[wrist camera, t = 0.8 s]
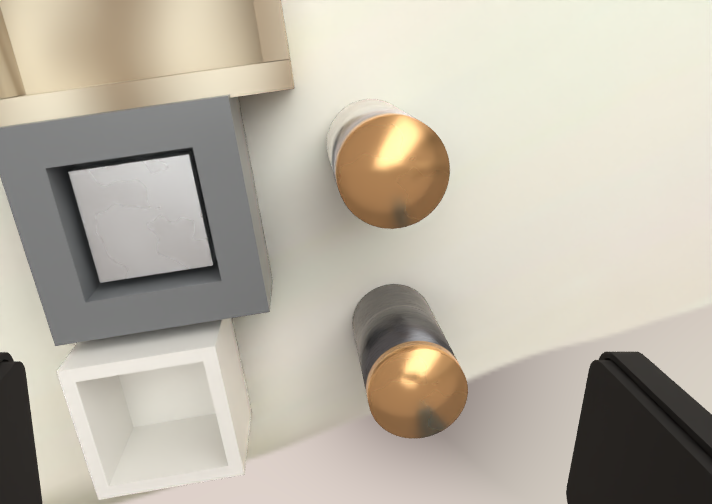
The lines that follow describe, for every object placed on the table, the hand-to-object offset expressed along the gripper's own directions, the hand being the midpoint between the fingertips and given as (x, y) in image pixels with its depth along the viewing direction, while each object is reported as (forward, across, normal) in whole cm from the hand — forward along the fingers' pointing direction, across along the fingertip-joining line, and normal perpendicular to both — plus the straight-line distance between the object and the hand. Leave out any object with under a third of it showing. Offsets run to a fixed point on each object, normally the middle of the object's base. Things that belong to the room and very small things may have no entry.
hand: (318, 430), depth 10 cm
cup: (+19, +6, +10) cm, 22 cm away
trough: (+19, +7, -7) cm, 22 cm away
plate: (+17, +7, +1) cm, 19 cm away
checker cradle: (+19, +6, +1) cm, 20 cm away
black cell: (+19, -5, +7) cm, 21 cm away
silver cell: (+19, -3, -2) cm, 20 cm away
